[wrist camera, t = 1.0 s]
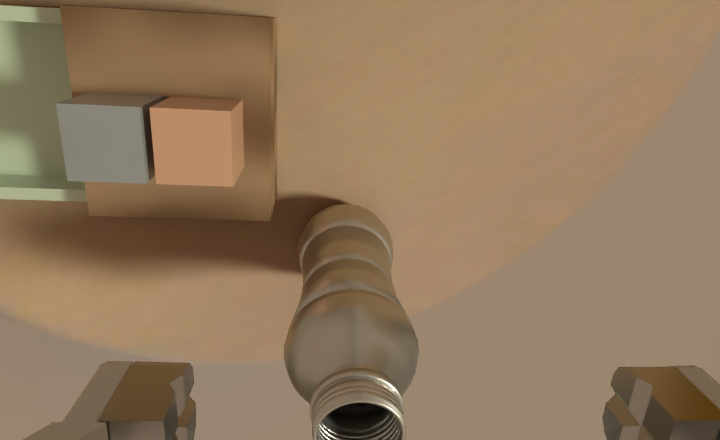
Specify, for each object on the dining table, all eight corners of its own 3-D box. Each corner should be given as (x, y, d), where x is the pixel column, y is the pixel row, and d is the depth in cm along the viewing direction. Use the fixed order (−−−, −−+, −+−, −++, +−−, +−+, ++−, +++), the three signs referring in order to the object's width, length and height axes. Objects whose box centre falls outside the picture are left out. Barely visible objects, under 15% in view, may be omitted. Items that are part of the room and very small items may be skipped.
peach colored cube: (171, 96, 30) (149, 107, 26) (242, 99, 30) (230, 111, 26) (176, 164, 31) (156, 184, 27) (244, 166, 32) (233, 186, 28)
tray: (-90, -1, 32) (-130, -3, 29) (93, 10, 32) (71, 9, 30) (-47, 182, 36) (-79, 196, 33) (114, 187, 37) (96, 202, 34)
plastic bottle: (379, 280, 41) (424, 503, 22) (293, 268, 40) (263, 489, 21) (397, 203, 38) (464, 379, 20) (305, 188, 37) (285, 357, 19)
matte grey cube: (89, 92, 29) (55, 103, 26) (162, 95, 30) (139, 107, 26) (98, 161, 31) (67, 181, 27) (167, 163, 31) (146, 183, 27)
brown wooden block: (97, 6, 32) (59, 5, 28) (276, 17, 33) (268, 17, 29) (119, 190, 37) (89, 216, 32) (276, 196, 38) (269, 221, 33)
